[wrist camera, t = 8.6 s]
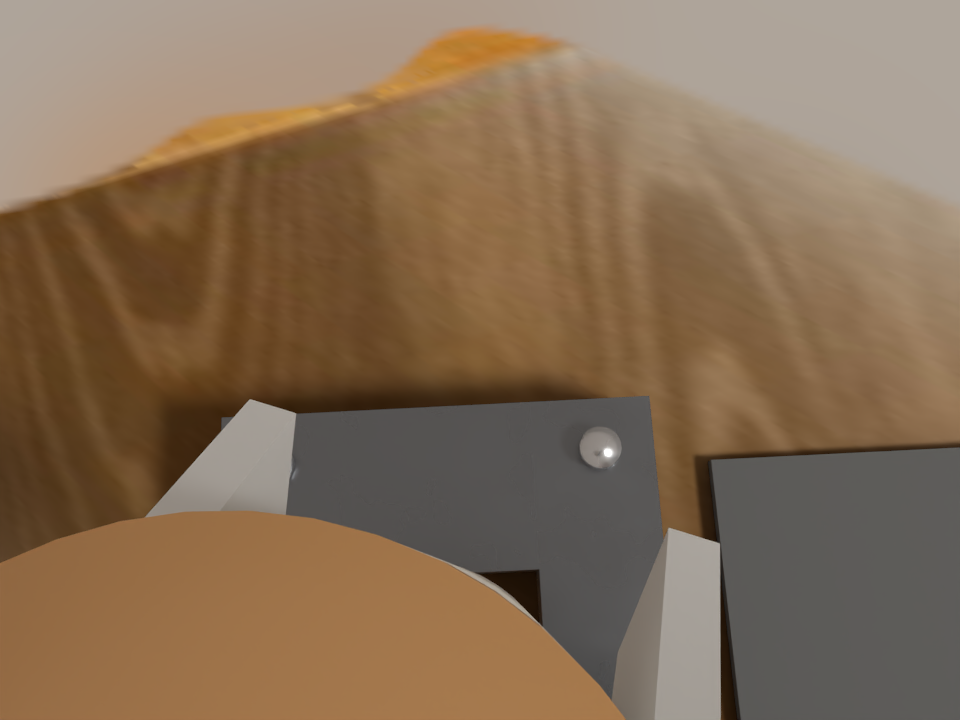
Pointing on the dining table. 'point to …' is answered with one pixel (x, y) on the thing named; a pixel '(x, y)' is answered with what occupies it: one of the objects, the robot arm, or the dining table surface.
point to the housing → (503, 500)
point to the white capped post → (270, 629)
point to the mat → (842, 584)
